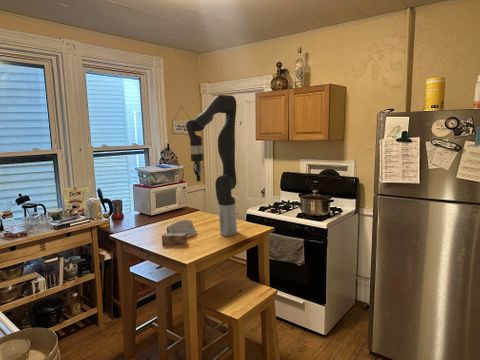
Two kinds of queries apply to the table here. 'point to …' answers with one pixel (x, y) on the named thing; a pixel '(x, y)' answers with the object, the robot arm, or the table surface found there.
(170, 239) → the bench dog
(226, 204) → the robot arm
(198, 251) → the table surface
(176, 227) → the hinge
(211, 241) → the table surface
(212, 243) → the table surface
